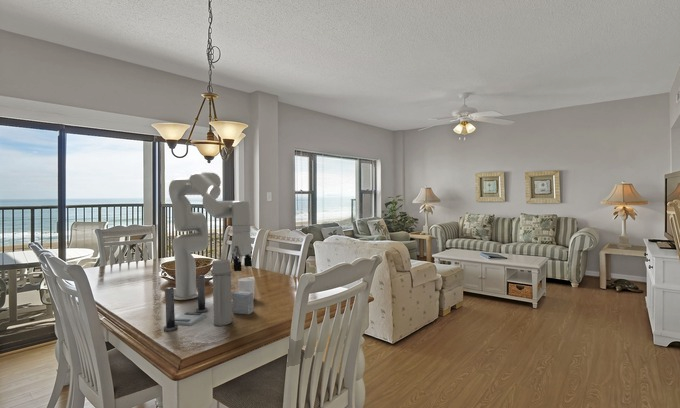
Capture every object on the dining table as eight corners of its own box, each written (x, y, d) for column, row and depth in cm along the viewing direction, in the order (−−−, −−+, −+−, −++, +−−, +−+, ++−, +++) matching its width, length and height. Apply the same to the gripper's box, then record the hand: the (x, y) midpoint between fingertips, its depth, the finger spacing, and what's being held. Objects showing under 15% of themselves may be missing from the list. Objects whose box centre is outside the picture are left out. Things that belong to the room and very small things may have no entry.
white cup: (250, 302, 171) (250, 281, 170) (235, 301, 172) (235, 280, 172) (257, 297, 178) (257, 277, 178) (243, 296, 180) (242, 277, 180)
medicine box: (254, 311, 157) (253, 292, 157) (248, 315, 153) (247, 294, 153) (238, 310, 160) (238, 290, 160) (232, 313, 156) (232, 293, 155)
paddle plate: (166, 323, 144) (166, 320, 144) (183, 314, 155) (183, 311, 155) (191, 325, 142) (191, 321, 142) (206, 315, 153) (206, 312, 153)
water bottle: (215, 320, 147) (213, 259, 146) (234, 319, 147) (233, 259, 147) (209, 329, 138) (207, 264, 137) (230, 328, 138) (228, 263, 138)
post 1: (160, 331, 136) (159, 289, 136) (169, 326, 141) (167, 286, 140) (172, 332, 135) (170, 290, 135) (180, 327, 140) (179, 286, 139)
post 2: (193, 312, 157) (192, 276, 156) (200, 309, 162) (199, 274, 161) (203, 313, 156) (202, 276, 155) (210, 309, 161) (209, 274, 160)
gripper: (242, 227, 164) (244, 264, 165) (223, 231, 147) (225, 272, 148) (258, 227, 163) (259, 264, 163) (240, 231, 146) (241, 273, 146)
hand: (243, 268), depth 155 cm, fingers open, 9 cm apart
